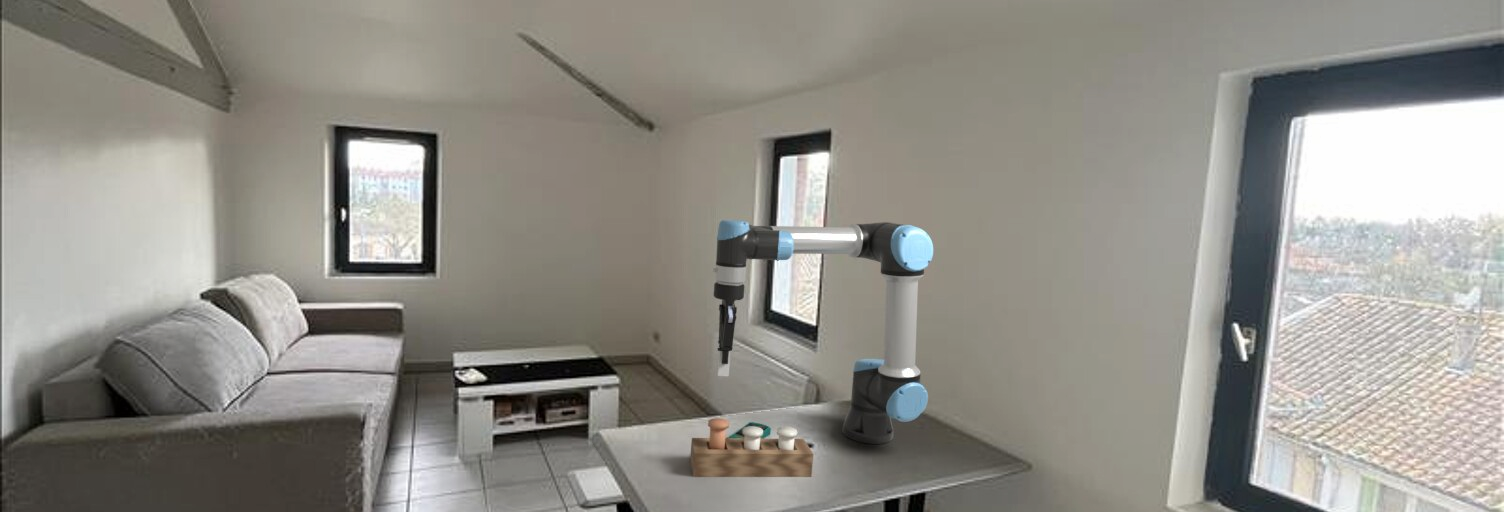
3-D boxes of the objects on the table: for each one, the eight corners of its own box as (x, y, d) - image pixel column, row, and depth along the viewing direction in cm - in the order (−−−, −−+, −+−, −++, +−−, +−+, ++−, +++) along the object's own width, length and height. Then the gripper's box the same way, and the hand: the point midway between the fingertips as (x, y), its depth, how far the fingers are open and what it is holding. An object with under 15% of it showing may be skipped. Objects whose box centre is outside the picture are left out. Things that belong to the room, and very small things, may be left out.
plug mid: (758, 459, 177) (761, 426, 176) (762, 468, 172) (764, 433, 171) (738, 459, 176) (741, 426, 175) (741, 467, 171) (744, 433, 170)
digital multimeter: (771, 434, 200) (772, 425, 200) (750, 451, 186) (751, 441, 186) (748, 429, 203) (749, 420, 203) (727, 445, 189) (727, 435, 189)
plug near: (792, 459, 179) (794, 426, 178) (796, 468, 174) (799, 434, 173) (772, 459, 178) (775, 426, 177) (776, 468, 173) (779, 434, 172)
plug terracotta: (724, 452, 175) (727, 418, 174) (727, 460, 170) (730, 425, 169) (705, 451, 174) (707, 418, 173) (707, 460, 169) (709, 425, 168)
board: (801, 460, 182) (803, 438, 181) (811, 476, 172) (813, 454, 171) (690, 459, 176) (691, 437, 176) (693, 476, 167) (694, 453, 166)
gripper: (711, 277, 173) (705, 367, 176) (717, 286, 161) (711, 382, 163) (740, 279, 175) (734, 368, 177) (748, 287, 162) (741, 383, 164)
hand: (723, 375), depth 170 cm, fingers closed
